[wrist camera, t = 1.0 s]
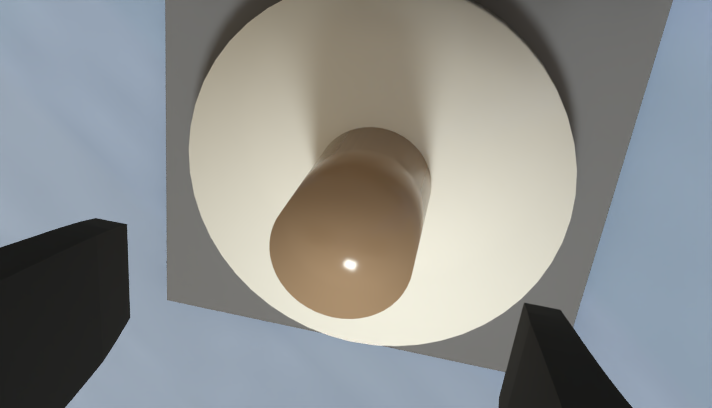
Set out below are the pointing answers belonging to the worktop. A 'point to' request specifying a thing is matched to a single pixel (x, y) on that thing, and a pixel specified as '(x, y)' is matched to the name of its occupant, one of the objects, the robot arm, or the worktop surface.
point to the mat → (576, 89)
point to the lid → (383, 165)
